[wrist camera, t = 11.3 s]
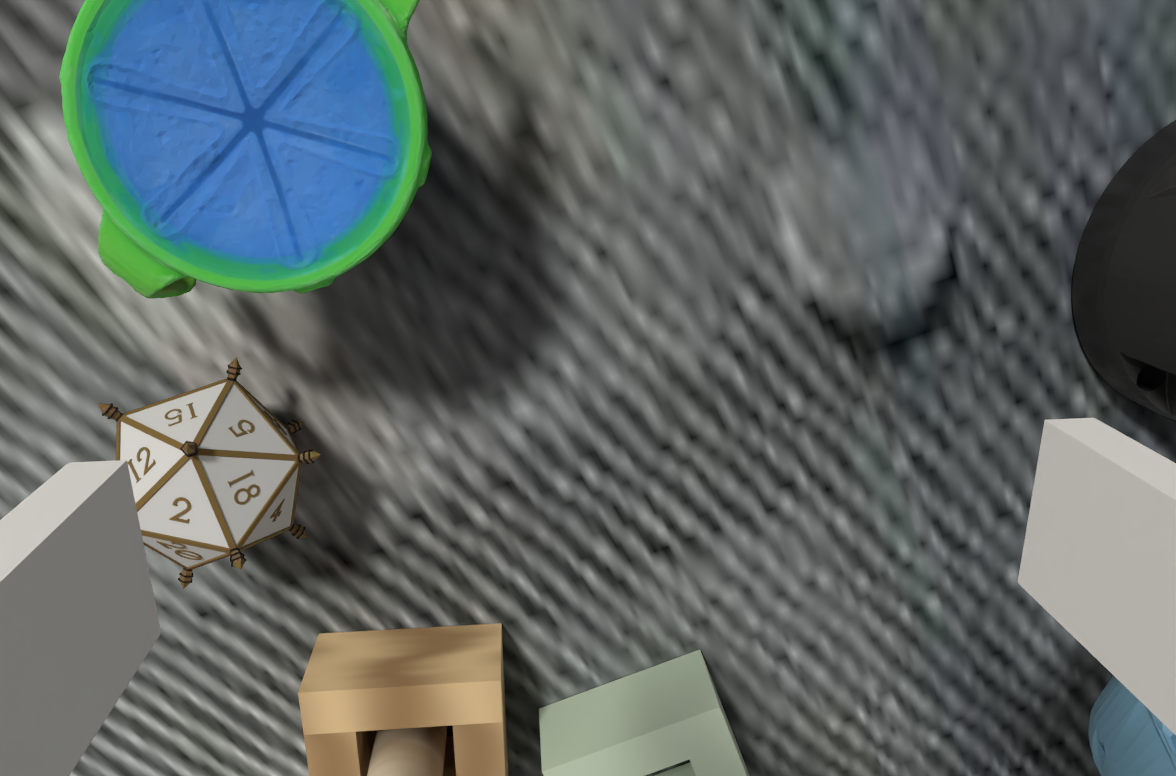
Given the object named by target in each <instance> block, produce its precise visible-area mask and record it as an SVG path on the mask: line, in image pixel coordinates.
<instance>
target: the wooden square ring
mask: <svg viewBox="0 0 1176 776" xmlns="http://www.w3.org/2000/svg"><path fill="white" fill-rule="evenodd" d="M298 696H299V703H300V710H301V717H302V725H303V732H304V739H305V746H306V754H307V761H308V768H309V775H310V776H367V774H368V769H369V764H370V760H371V755H372V750H373V745H374V740H375V735H376V731H377V730H389V729H404V728H420V727H435V726H451V725H453V736H448V737H446V746H445V757H444V767H443V776H508V751H507V729H506V708H505V687H504V665H503V644H502V623H500V624H482V625H465V626H447V627H429V628H411V629H393V630H375V631H358V632H340V633H322V634H319V635H318V638H317V640H316V643H315V646H314V649H313V652H312V655H311V657H310V660H309V663H308V666H307V669H306V672H305V675H304V677H303V680H302V683H301V686H300V689H299V692H298Z"/></svg>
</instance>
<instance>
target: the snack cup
mask: <svg viewBox="0 0 1176 776" xmlns="http://www.w3.org/2000/svg"><path fill="white" fill-rule="evenodd" d="M418 2H419V0H86V1H85V2H84V4H83V6H82V8H81V10H80V12H79V14H78V16H77V18H76V21H75V23H74V26H73V28H72V31H71V33H70V36H69V40H68V44H67V48H66V53H65V54H64V58H63V62H62V67H61V71H60V82H61V85H62V98H63V102H62V106H63V114H64V120H65V126H66V129H67V134H68V140H69V142H70V145H71V148H72V151H73V154H74V156H75V158H76V161H77V163H78V165H79V168H80V170H81V172H82V174H83V176H84V178H85V180H86V182H87V184H88V185H89V187H90V189H91V190H92V192H93V194H94V196H95V197H96V199H97V200H98V202H99V203H100V204H101V206H102V207H103V215H102V221H101V224H100V230H99V239H98V253H99V255H100V258H101V260H102V262H103V263H104V264H105V265H106V266H107V267H108V268H109V269H110V270H111V271H112V272H113V273H114V274H116V275H117V276H119V277H121V278H122V279H124V280H125V281H126V282H127V283H128V284H129V285H131V286H132V287H133V289H134V290H135V291H136V292H138V293H139V294H141V295H142V296H144V297H146V298H166V297H172V296H179V295H182V294H184V293H187V292H189V291H191V290H192V288H193V287H194V286H195V285H196V279H197V280H199V281H202V282H205V283H208V284H211V285H215V286H218V287H223V288H227V289H232V290H236V291H244V292H254V293H274V292H283V291H290V290H294V291H296V292H299V293H305V292H309V291H313V290H316V289H319V288H322V287H325V286H329V285H330V284H331V283H333V282H334V280H335V278H336V277H337V276H339V275H341V274H343V273H345V272H347V271H348V270H350V269H352V268H353V267H355V266H356V265H358V264H360V263H361V262H362V261H364V260H365V259H367V258H368V257H370V256H371V255H372V254H373V253H374V252H375V251H376V250H377V249H378V248H379V247H381V245H382V244H383V243H384V242H385V241H386V240H387V239H388V238H389V237H390V236H391V235H392V234H393V233H394V231H395V230H396V228H397V227H398V225H399V224H400V223H401V221H402V219H403V218H404V216H405V215H406V213H407V211H408V209H409V207H410V205H411V203H412V201H413V199H414V197H415V194H416V192H417V190H418V188H419V187H420V186H422V185H423V184H424V183H425V181H426V178H427V174H428V169H429V165H430V160H431V156H432V151H431V148H430V146H429V144H428V141H427V135H428V129H427V108H426V102H425V97H424V92H423V87H422V83H421V80H420V76H419V72H418V69H417V67H416V64H415V62H414V59H413V57H412V55H411V52H410V50H409V48H408V45H407V28H408V24H409V21H410V19H411V17H412V15H413V13H414V11H415V9H416V7H417V5H418Z"/></svg>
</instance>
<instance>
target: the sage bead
mask: <svg viewBox="0 0 1176 776" xmlns="http://www.w3.org/2000/svg"><path fill="white" fill-rule="evenodd" d="M539 723H540V744H541V764H542V773H543V775H544V776H645V775H648V774H651V773H653V772H656V771H659V770H662V769H664V768H667V767H670V766H673V765H675V764H678V763H681V762H684V761H686V760H690V762H689V763H687V764H684V765H681V766H678V767H676V768H673V769H670V770H667V771H665V772H662V773H659V774H656V775H654V776H750V775H749V773H748V770H747V767H746V765H745V762H744V760H743V757H742V755H741V752H740V750H739V747H738V745H737V742H736V740H735V737H734V734H733V732H732V729H731V727H730V724H729V722H728V719H727V717H726V714H725V712H724V709H723V706H722V704H721V701H720V699H719V696H718V694H717V691H716V689H715V686H714V684H713V681H712V678H711V676H710V673H709V671H708V668H707V666H706V663H705V661H704V658H703V656H702V653H701V651H700V649H699V650H697V651H694V652H691V653H689V654H686V655H683V656H680V657H678V658H675V659H672V660H670V661H667V662H664V663H661V664H659V665H656V666H653V667H651V668H648V669H645V670H642V671H640V672H637V673H634V674H632V675H629V676H626V677H623V678H621V679H618V680H615V681H613V682H610V683H607V684H604V685H602V686H599V687H596V688H594V689H591V690H588V691H585V692H583V693H580V694H577V695H575V696H572V697H569V698H567V699H564V700H561V701H558V702H556V703H553V704H550V705H548V706H545V707H542V708H539Z"/></svg>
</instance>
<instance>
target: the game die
mask: <svg viewBox="0 0 1176 776" xmlns="http://www.w3.org/2000/svg"><path fill="white" fill-rule="evenodd" d="M240 369H242V368H241V367H240V365H239V362H238V360H237V358H236V359H234V360H233V361H232V362H231V363H230V364H229V365H228V370H227V373H228V377H227V379H224V380H221V381H218V382H215V383H212V384H209V385H206V386H203V387H200V388H197V389H194V390H192V391H189V392H186V393H183V394H180V395H177V396H174V397H171V398H168V399H165V400H162V401H159V402H156V403H153V404H150V405H147V406H144V407H141V408H138V409H135V410H132V411H129V412H127V413H124V414H122V413H120V411H119V410H118V407H116V408H115V407H114V406H113V404H112V403H111V404H101V403H98V404H99V407H100V409H101V411H102V416H104V415H105V416H107V417H108V419H110V418H111V419H114V420H116V421H117V431H116V461H120V460H127V463H128V468H129V473H130V479H131V484H132V489H133V494H134V499H135V504H136V509H137V514H138V519H139V524H140V529H141V534H142V539H143V544H144V545H145V546H147V547H149V548H151V549H152V550H154V551H156V552H158V553H159V554H161V555H163V556H164V557H166V558H168V559H170V560H171V561H173V562H175V563H177V564H178V565H180V566H182V567H183V571H182V572H181V573H180V574H179V575H180V578H178V580H179V581H180V582H181V585H182V587H183V589H184V588H185V587H186V586H187V585H188V584H189V583H192V577H193V573H192V569H195V568H197V567H200V566H203V565H206V564H208V563H211V562H214V561H217V560H219V559H222V558H225V557H228V556H230V562H231V567H233V566H234V567H236V568H238V569H240V570H241V569H242V566H243V564H244V562H245V561H246V559H245V558H244V556H245V555H244V554H243V553H241V551H243V550H245V549H247V548H250V547H252V546H254V545H256V544H259V543H261V542H263V541H266V540H268V539H270V538H272V537H275V536H277V535H279V534H281V533H284V532H286V531H291V533H292V535H293V536H296V538H297V539H298V538H308V537H307V534H306V531H305V527H304V528H302V527H301V525H295V524H294V523H293V522H294V515H295V508H296V501H297V493H298V486H299V479H300V472H301V465H302V462H306V463H307V464H309V462H312V463H314V462H315V460H316V459H317V458H318V457H319V456H320V455H321V454H320V453H318V452H315V451H314V450H313V449H312V450H309V451H305V452H303V453H302V454H300V452H299V450H298V448H297V446H296V444H295V442H294V440H293V438H292V436H291V434H290V433H292V434H293V433H295V432H297V431H299V430H301V426H302V423H303V422H299V421H295V420H292V422H291V423H290V422H289V423H288V425H287V427H286V426H285V425H283V424H282V423H281V422H280V421H279V420H278V419H277V418H276V417H275V416H274V415H273V414H272V413H271V412H270V411H268V410H267V409H266V408H265V407H264V406H263V405H262V404H261V403H260V402H259V401H258V400H257V399H256V398H254V397H253V396H252V395H251V394H250V393H249V392H248V391H247V390H246V389H245V388H244V387H243V386H242V385H241V384H239V383H238V382H237V381H236V378H237V377H238V375H240V374H241V373H240Z"/></svg>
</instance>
